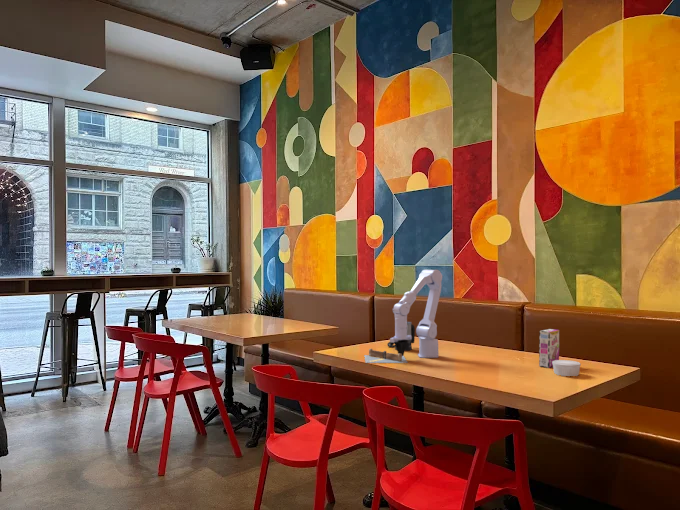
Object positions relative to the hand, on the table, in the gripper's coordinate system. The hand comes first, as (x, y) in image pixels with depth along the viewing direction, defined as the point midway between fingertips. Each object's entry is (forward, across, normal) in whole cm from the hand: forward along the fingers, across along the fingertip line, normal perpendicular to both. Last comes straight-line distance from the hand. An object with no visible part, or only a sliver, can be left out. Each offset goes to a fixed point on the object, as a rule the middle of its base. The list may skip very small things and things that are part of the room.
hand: (400, 355), depth 253 cm
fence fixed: (+2, +4, -12) cm, 13 cm away
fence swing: (+1, +4, -1) cm, 4 cm away
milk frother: (+2, -25, -21) cm, 33 cm away
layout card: (+2, +4, -7) cm, 8 cm away
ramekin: (+2, -24, +70) cm, 74 cm away
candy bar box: (+2, -37, +57) cm, 68 cm away
